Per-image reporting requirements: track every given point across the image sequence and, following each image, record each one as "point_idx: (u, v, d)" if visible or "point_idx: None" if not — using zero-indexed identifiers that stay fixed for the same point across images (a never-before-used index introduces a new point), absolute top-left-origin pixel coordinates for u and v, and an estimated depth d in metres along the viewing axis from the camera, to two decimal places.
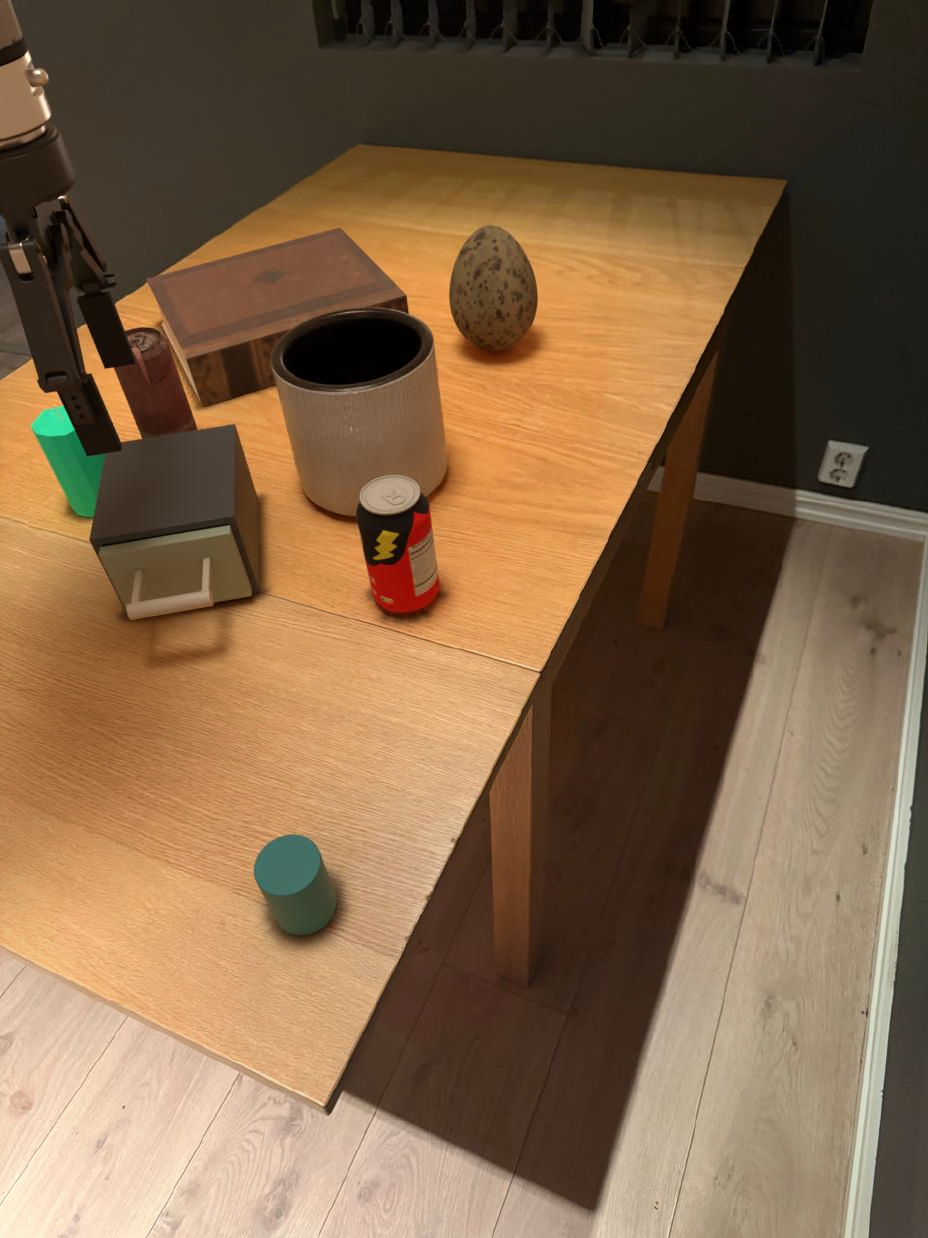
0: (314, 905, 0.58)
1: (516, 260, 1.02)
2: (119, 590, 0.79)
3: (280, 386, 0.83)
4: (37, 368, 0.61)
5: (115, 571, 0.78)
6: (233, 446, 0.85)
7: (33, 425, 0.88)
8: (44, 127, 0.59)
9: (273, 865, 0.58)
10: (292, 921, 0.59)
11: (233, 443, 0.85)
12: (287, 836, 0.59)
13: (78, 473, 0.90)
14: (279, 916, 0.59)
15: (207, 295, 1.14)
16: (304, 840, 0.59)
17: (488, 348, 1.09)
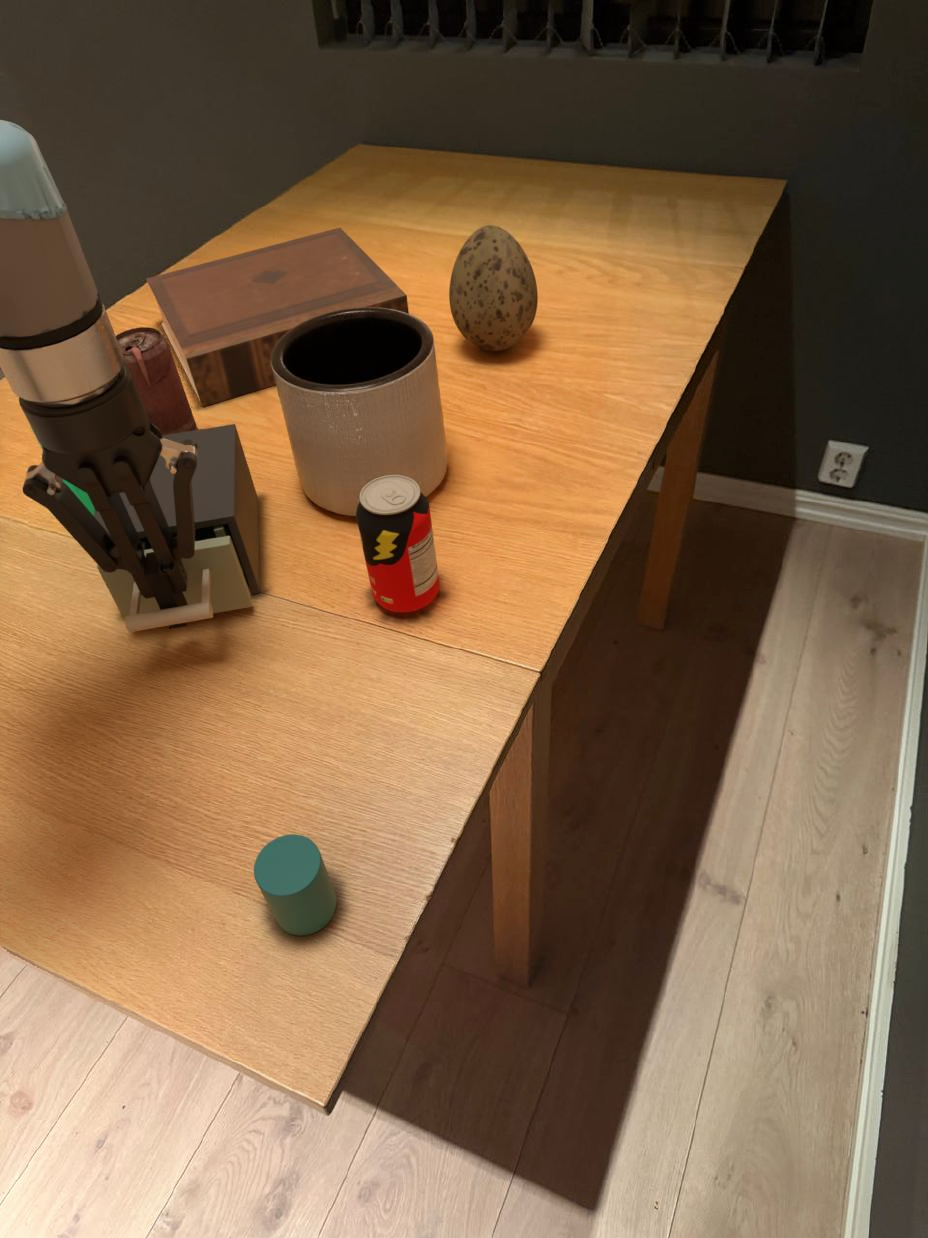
0: (314, 905, 0.58)
1: (516, 260, 1.02)
2: (117, 601, 0.78)
3: (280, 386, 0.83)
4: (193, 541, 0.70)
5: (113, 582, 0.77)
6: (233, 446, 0.85)
7: None
8: None
9: (273, 865, 0.58)
10: (292, 921, 0.59)
11: (233, 443, 0.85)
12: (287, 836, 0.59)
13: None
14: (279, 916, 0.59)
15: (207, 294, 1.14)
16: (304, 840, 0.59)
17: (488, 348, 1.09)
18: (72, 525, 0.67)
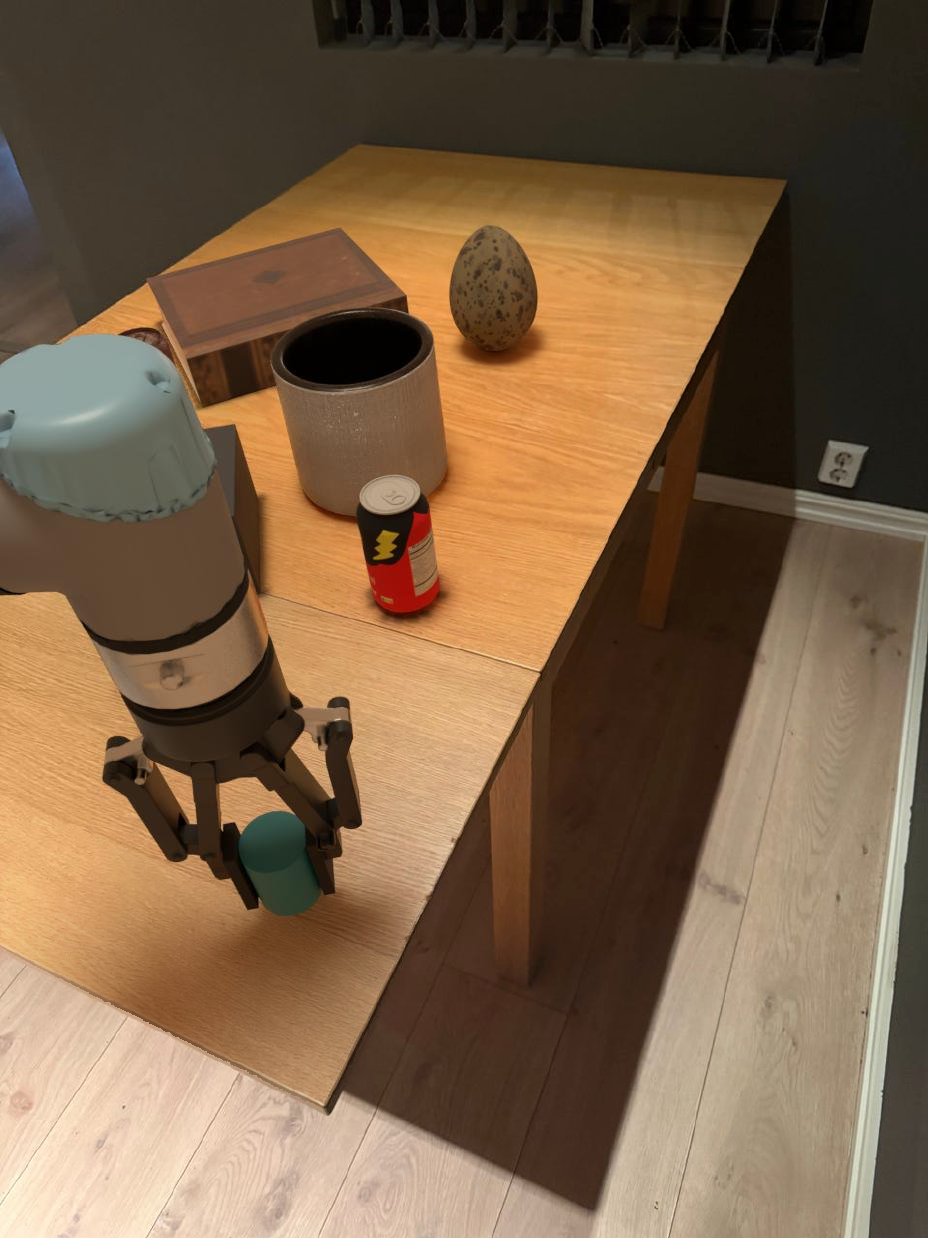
0: (301, 884, 0.56)
1: (516, 260, 1.02)
2: None
3: (280, 386, 0.83)
4: None
5: None
6: (233, 446, 0.85)
7: None
8: None
9: (258, 842, 0.55)
10: (277, 901, 0.57)
11: (233, 443, 0.85)
12: (273, 812, 0.57)
13: None
14: (264, 895, 0.57)
15: (207, 295, 1.14)
16: (291, 817, 0.56)
17: (488, 348, 1.09)
18: None
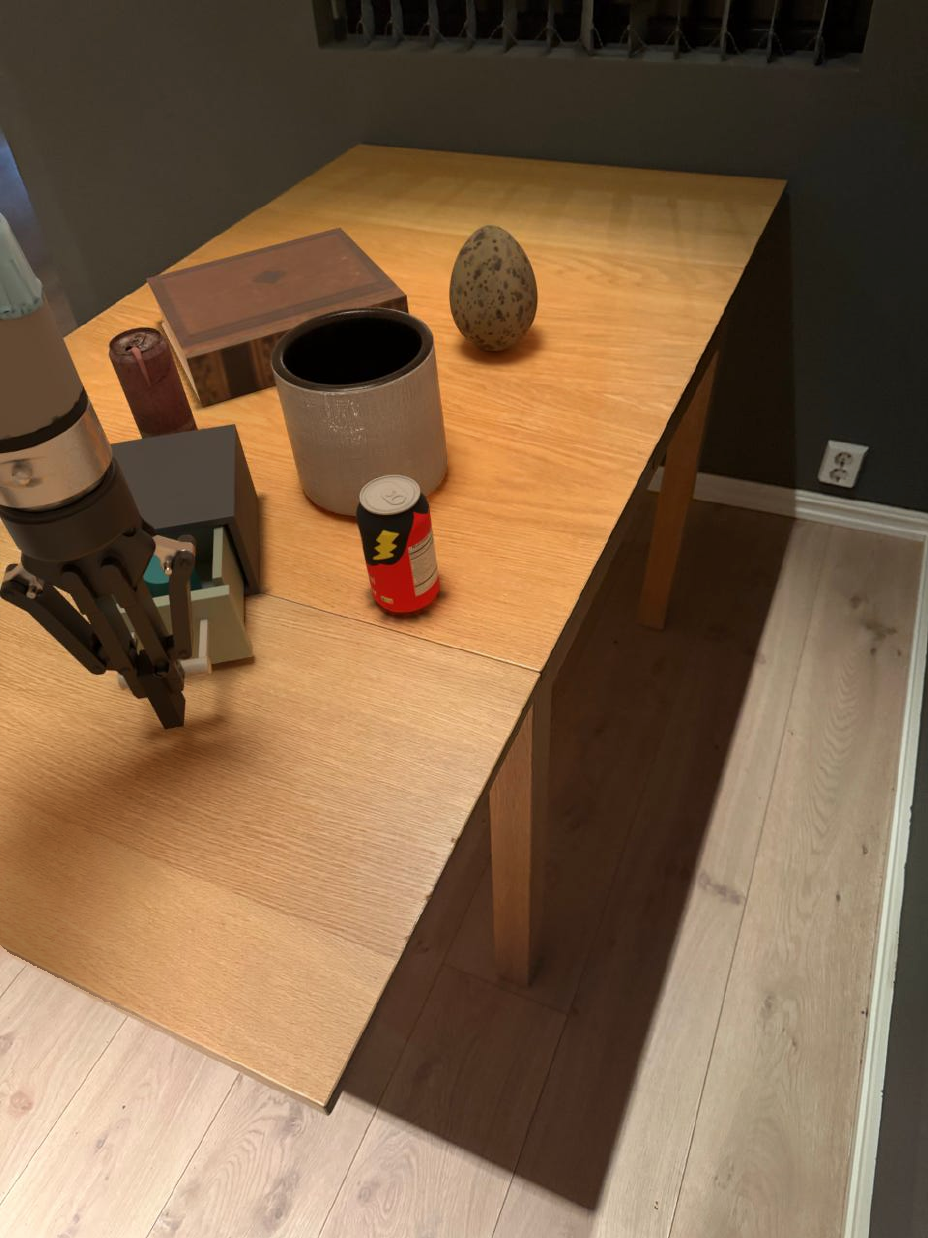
0: None
1: (516, 260, 1.02)
2: None
3: (280, 386, 0.83)
4: None
5: None
6: (233, 446, 0.85)
7: None
8: (39, 508, 0.51)
9: (154, 566, 0.76)
10: None
11: (233, 443, 0.85)
12: None
13: None
14: None
15: (207, 294, 1.14)
16: None
17: (488, 348, 1.09)
18: None
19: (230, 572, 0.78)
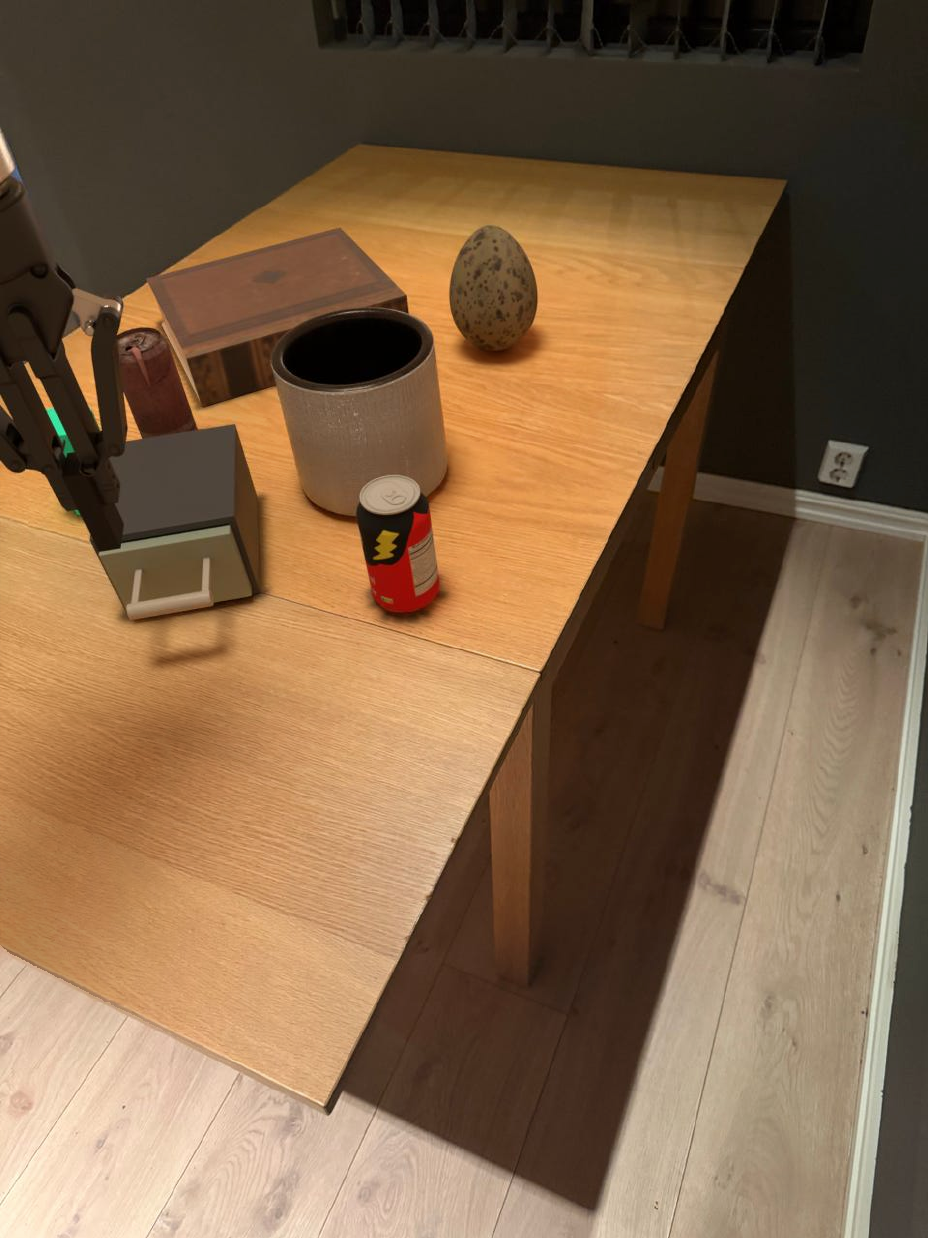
0: None
1: (516, 260, 1.02)
2: (119, 590, 0.79)
3: (280, 386, 0.83)
4: None
5: (115, 571, 0.78)
6: (233, 446, 0.85)
7: None
8: None
9: None
10: None
11: (233, 443, 0.85)
12: None
13: None
14: None
15: (207, 294, 1.14)
16: None
17: (488, 348, 1.09)
18: None
19: None
